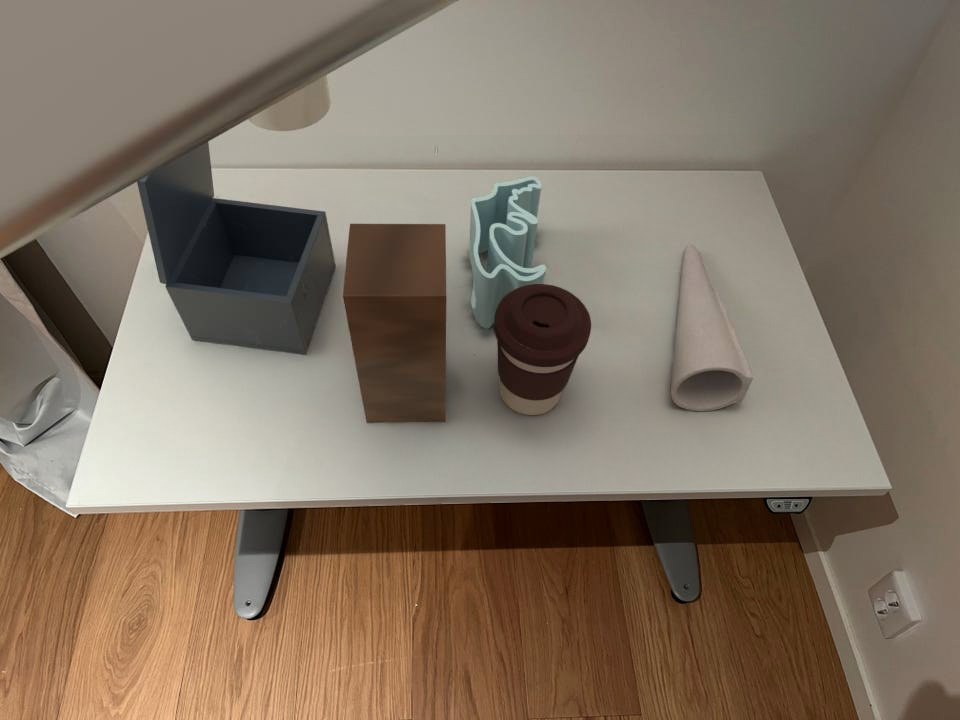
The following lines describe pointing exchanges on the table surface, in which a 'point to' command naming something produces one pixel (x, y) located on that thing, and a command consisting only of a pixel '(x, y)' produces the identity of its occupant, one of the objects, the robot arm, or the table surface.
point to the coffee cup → (538, 345)
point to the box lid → (176, 206)
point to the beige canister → (296, 109)
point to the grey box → (254, 276)
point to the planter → (705, 345)
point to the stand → (398, 319)
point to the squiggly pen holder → (503, 244)
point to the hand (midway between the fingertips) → (247, 62)
